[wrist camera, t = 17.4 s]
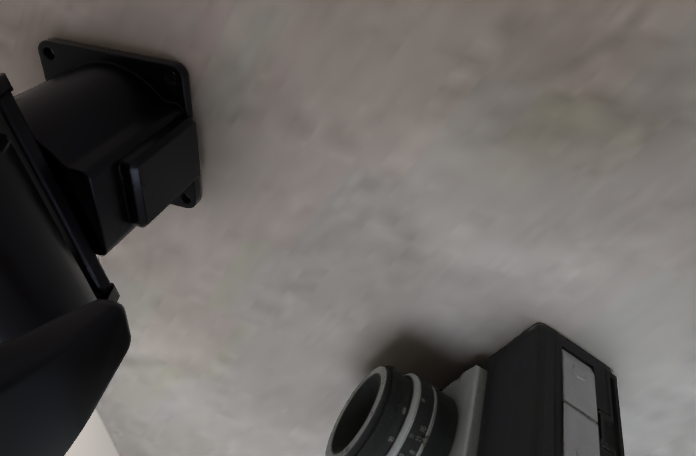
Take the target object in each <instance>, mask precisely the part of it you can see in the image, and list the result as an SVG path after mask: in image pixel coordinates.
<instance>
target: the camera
mask: <svg viewBox="0 0 696 456" xmlns="http://www.w3.org/2000/svg"><path fill="white" fill-rule="evenodd" d="M326 456H624V446H623V437H622V427H621V418H620V408H619V398H618V389H617V379H616V376H615V375H613V374H612V372H611V370H610V368H608V367H607V366H605V365H604V364H602V363H601V362H599V361H598V360H596V359H595V358H593V357H592V356H590V355H589V354H587V353H586V352H584V351H583V350H581V349H580V348H578V347H577V346H575V345H574V344H572V343H571V342H569V341H568V340H566V339H565V338H563V337H562V336H560V335H559V334H557V333H556V332H554V331H553V330H552V329H550V328H549V327H547V326H546V325H543V324H541V323H538V324H535V325H534V326H533V327H531V328H530V329H529V330H527V331H526V332H525V333H523V334H522V335H521V336H519V337H518V338H517V339H515V340H514V341H513V342H511V343H510V344H509V345H507V346H506V347H505V348H503V349H502V350H501V351H499V352H498V353H497V354H495V355H494V356H493V357H491V358H490V359H489V360H487V361H486V362H485V363H483V364H482V365H481V366H477V365H475V366H474V367H472V368H470V369H469V370H467V371H465V372H464V373H462V375H461V376H460V377H459V378H458V380H455V381H453V382H452V383H451V384H449V385H448V386H447V387H446V388H445V389H443V390H442V391H439V390H438V389H436V388H435V387H433V386H432V385H430V384H429V383H427V382H426V381H424V380H422V379H421V378H419V377H418V376H416V375H415V374H413V373H408V374H405V375H402V373H401V372H400V371H399V370H397V369H396V368H394V367H392V366H387V367H381V366H379V367H377V368H375V369H374V370H372V371H371V372H370V373H369V374H368V375H367V376H366V377H365V378H364V379H363V380H362V382H361V383H360V384H359V385H358V387H357V388H356V389H355V391H354V392H353V394H352V395H351V397H350V398H349V399H348V401H347V403H346V405H345V406H344V408H343V410H342V412H341V413H340V415H339V417H338V419H337V421H336V423H335V426H334V428H333V430H332V433H331V435H330V438H329V441H328V445H327V449H326Z"/></svg>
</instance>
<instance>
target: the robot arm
mask: <svg viewBox="0 0 696 456" xmlns="http://www.w3.org/2000/svg"><path fill="white" fill-rule="evenodd" d="M51 50H52V51H53V52H54V54H55V55H54V54H53V53H52V51H51ZM38 51H39V55H40V59H41V63H42V67H43V71H44V75H45V79H46V81H45V82H43V83H41V84H39V85H37V86H35V87H33V88H31V89H29V90H27V91H25V92H23V93H21V94H18V95H16V96H14V97H13V95H12V93H11V91H13V88H12V86H11V84H10V82H9V80H8V78H7V76H6V74H5V73H0V456H64V455H65V454H66V452H67V451H68V450H69V448H70V447H71V445H72V444H73V442H74V441H75V440H76V438H77V437H78V435H79V433H80V432H81V431H82V429H83V428H84V426H85V424H86V423H87V421H88V420H89V418H90V416H91V414H92V413H93V411H94V409H95V408H96V406H97V404H98V402H99V400H100V399H101V397H102V395H103V393H104V392H105V390H106V388H107V386H108V385H109V383H110V381H111V379H112V378H113V376H114V374H115V372H116V370H117V369H118V367H119V365H120V363H121V362H122V360H123V358H124V356H125V355H126V353H127V351H128V349H129V346H130V342H131V334H130V330H129V325H128V321H127V317H126V312H125V309H124V307H123V306H122V305H121V304H119V303H117V301H118V299H119V297H120V295H119V293H118V291H117V289H116V287H115V285H114V284H113V283H110V281H109V279H108V278H107V276H106V274H105V272H104V270H103V268H102V266H101V264H100V262H99V260H98V258H97V256H96V255H95V254H97V255H103V256H104V255H106V254H107V253H108V252H109V251H110V250H111V249H112V248H113V247H114V246H115V245H117V244H118V243H119V242H120V241H121V240H122V239H123V238H124V237H125V236H126V235H127V234H128V233H129V232H131V231H132V230H133V229H134V228H135V227H136V226H138V227H142V228H143V227H145V226H147V225H148V224H149V223H150V222H151V221H152V220H153V219H154V218H155V217H157V216H158V215H159V214H160V213H161V212H162V211H163V210H164V209H165V208H166V207H167V206H168V205H169V204H173V205H177V206H181V207H185V208H192V207H194V206H195V205H196V204H197V203H198V202H199V201H200V197H201V195H200V185H199V176H200V165H199V154H198V144H197V134H196V124H195V122H194V120H193V115H192V105H191V95H190V85H189V76H188V72H187V70H186V69H185V67H184V66H183V65H182V64H180V63H178V62H175V61H170V60H165V59H160V58H154V57H149V56H144V55H139V54H133V53H128V52H123V51H118V50H112V49H107V48H102V47H97V46H91V45H86V44H81V43H76V42H70V41H65V40H60V39H55V38H49V39H47V40H44V41H42V42H41V43H39V46H38ZM171 72H174V73H175V75H176V76H177V80H175V79H174V78H173V77H172V74H171ZM186 194H187V195H189V196H190V198H191V199H190V198H188V197H187V196H186Z"/></svg>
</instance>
